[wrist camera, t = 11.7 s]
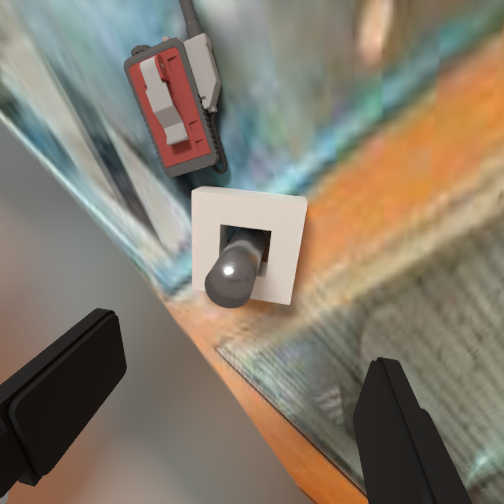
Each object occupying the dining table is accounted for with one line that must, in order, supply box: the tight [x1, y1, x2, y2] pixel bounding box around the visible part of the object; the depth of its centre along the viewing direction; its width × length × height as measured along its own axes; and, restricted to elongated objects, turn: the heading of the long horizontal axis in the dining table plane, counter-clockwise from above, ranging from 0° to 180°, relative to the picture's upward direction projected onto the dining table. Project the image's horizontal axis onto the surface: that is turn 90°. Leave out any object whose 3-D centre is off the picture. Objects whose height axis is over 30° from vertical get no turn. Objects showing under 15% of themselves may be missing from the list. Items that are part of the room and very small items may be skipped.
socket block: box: [192, 185, 308, 305], centre depth 30 cm, size 12×12×4 cm
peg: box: [204, 227, 266, 308], centre depth 27 cm, size 4×4×12 cm
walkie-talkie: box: [124, 0, 227, 178], centre depth 25 cm, size 9×4×20 cm
